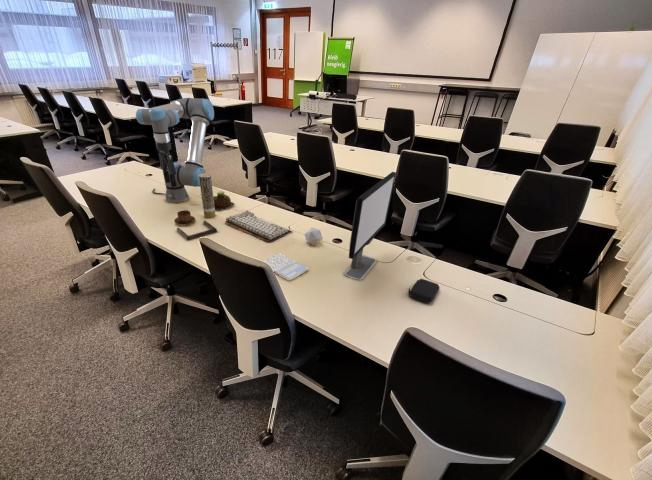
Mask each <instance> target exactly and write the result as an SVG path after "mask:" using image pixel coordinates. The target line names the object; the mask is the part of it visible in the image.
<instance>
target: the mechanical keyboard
mask: <svg viewBox="0 0 652 480" xmlns="http://www.w3.org/2000/svg"><path fill="white" fill-rule="evenodd" d="M224 224H225V225H228V226H230V227H232V228H234V229H236V230H239V231H242V232H243V233H245V234H249V235H251V236H252V237H255V238H256V239H259V240H262V241H264V242H267V243H269V242H270V243H272V242H274V241H277V240H278V239H280V238H282V237H284V236H287V235H289V234H292V232H293V231H292V230H290V229H288V228H286V227H282V226H280V225H278V224H276V223H273V222H271V221H269V220H266V219H264V218H262V217H259V216H257V215H255V214H254V212H252V211H248V210H244V211H242V212H239V213H236V214H233V215H230V216H229V217H228V216H227V217H225V222H224Z"/></svg>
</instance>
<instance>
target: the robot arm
mask: <svg viewBox="0 0 652 480" xmlns="http://www.w3.org/2000/svg"><path fill="white" fill-rule="evenodd" d="M135 117H136V121H137V123H139V124H140V125H145V126H147V125H148V126H152V130H153V138H154V141H155V147H156V150H157V154H158V158H159V163H160V170H162V174H163V175H162V176H163V179H164V184H165V192H155V190H156V188H155V187H154V188H153V190H152V191H151V192H152V194H155V195H164V199H165V202H166V203H169V204H182V203H186V202H188V201H189V200H190V196H189V194H188V191H187V189H186V187H192V188H193V187H194V188H196V187H198V188H200V181H199V174H201V173H207V172H206V169H205V168H204V165H203V164H202V163H203V154H204V148H205V142H206V141H205V139H206V134H207V133H206V132H207V127H208V126H209V125H210V121H213V120H214V119H215V110H214V105H213V103H212V101H211V100H210V99H209V98H194V97H182V98H179V99H176V100H172V101H170V103H167V104H162V105H158V106H154V107H149V108H138V109H136V110H135ZM180 119H189V120H190V121H191V123H192V125H191V132H190V133H191V134H190V140H189V147H188V155H187V160H185V161H184V165H182V164H181V162H179V161H178V162H175V161H174V157H173V155H171V153H170V151H171V150H172V143H171V137H170V132H169V128H170V127H174V126H176V125H178V124H179V122H180ZM185 186H186V187H185Z"/></svg>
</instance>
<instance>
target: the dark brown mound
mask: <svg viewBox="0 0 652 480" xmlns="http://www.w3.org/2000/svg"><path fill="white" fill-rule="evenodd" d="M213 198H214V206H215V211H223V210H227V209H229V208H231V207H233V206H235V203H234V202H232V200H231V197H230V196H229V195H227V194H226V193H225V192H224V191H223V190H221V191H218V192H216V196H213Z"/></svg>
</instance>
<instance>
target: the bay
mask: <svg viewBox="0 0 652 480" xmlns="http://www.w3.org/2000/svg"><path fill="white" fill-rule="evenodd" d="M202 223H203V225H204V226H205V227H206V228H207V230H204V231H200V232H196V233H193V234H187V233H186V232H184V231H183V230H182V229H181V228H180V227H176V231H177V233H178V234H180V235H181V236H182V237H183V238H184V239H185V240H187V241H192V240H194V239H198V238H201V237H205V236H207V235H211V234H215V233H217V232H218V230H217V228H216V227H215V226H214V225H212V224H211V223H210V222H208V221H206V220H203V221H202Z"/></svg>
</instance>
